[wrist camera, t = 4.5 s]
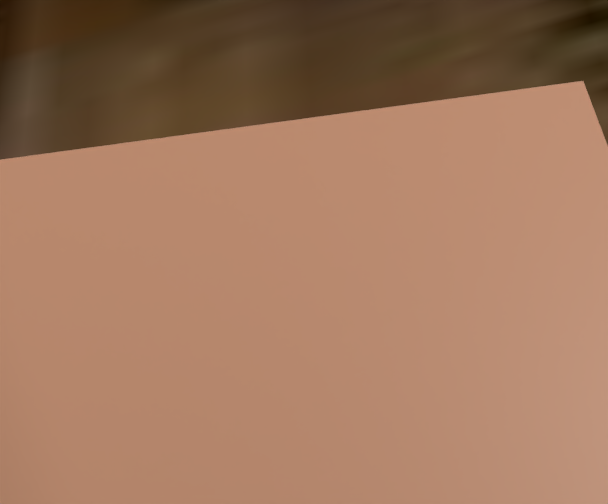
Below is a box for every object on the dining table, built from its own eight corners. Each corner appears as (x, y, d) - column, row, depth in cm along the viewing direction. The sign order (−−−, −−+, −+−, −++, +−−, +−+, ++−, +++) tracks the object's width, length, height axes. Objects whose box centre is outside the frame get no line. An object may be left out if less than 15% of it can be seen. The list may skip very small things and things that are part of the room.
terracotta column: (376, 509, 15) (902, 931, 3) (208, 545, 14) (-164, 1297, 2) (342, 343, 16) (583, 81, 4) (186, 371, 16) (-127, 177, 3)
